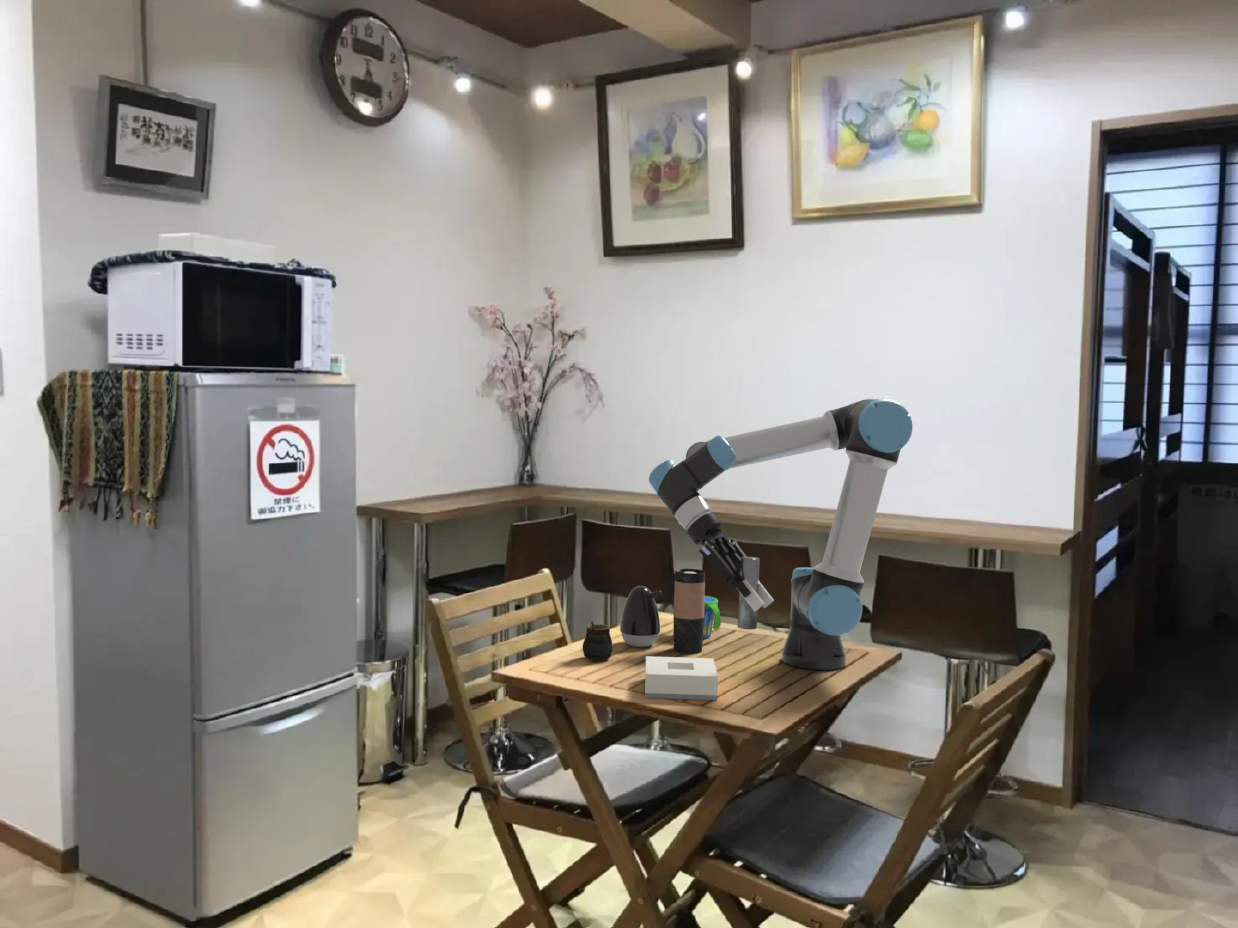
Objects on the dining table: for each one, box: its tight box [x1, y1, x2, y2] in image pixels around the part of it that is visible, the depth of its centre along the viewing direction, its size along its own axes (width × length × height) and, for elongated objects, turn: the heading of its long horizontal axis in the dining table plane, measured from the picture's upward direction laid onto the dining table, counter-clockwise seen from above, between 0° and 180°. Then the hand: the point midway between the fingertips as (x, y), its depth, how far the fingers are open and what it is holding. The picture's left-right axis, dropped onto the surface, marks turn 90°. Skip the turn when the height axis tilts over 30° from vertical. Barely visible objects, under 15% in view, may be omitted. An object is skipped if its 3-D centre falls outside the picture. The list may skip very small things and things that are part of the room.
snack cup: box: [703, 595, 722, 640], centre depth 266 cm, size 16×10×10 cm
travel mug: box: [672, 568, 706, 655], centre depth 250 cm, size 8×8×20 cm
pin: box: [737, 556, 760, 630], centre depth 215 cm, size 4×4×15 cm
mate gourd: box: [582, 621, 614, 662], centre depth 239 cm, size 7×8×10 cm
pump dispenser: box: [619, 585, 662, 648], centre depth 254 cm, size 10×10×15 cm
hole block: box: [644, 655, 719, 701], centre depth 215 cm, size 15×15×5 cm
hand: (764, 605), depth 213 cm, fingers closed on pin, 4 cm apart
